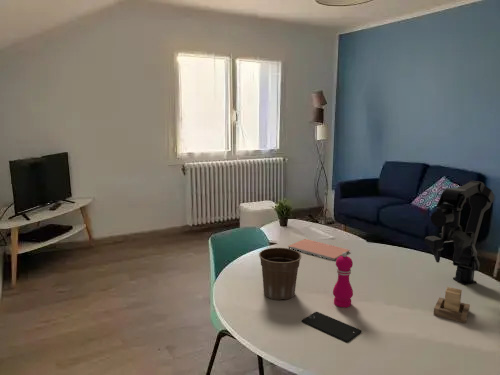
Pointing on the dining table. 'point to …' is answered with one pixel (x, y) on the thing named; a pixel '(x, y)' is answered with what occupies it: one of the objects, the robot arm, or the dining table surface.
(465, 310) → the walnut holder
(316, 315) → the cell phone
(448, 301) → the oak block
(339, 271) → the pepper mill
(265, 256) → the plant pot
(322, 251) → the notebook
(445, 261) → the dining table surface
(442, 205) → the robot arm
